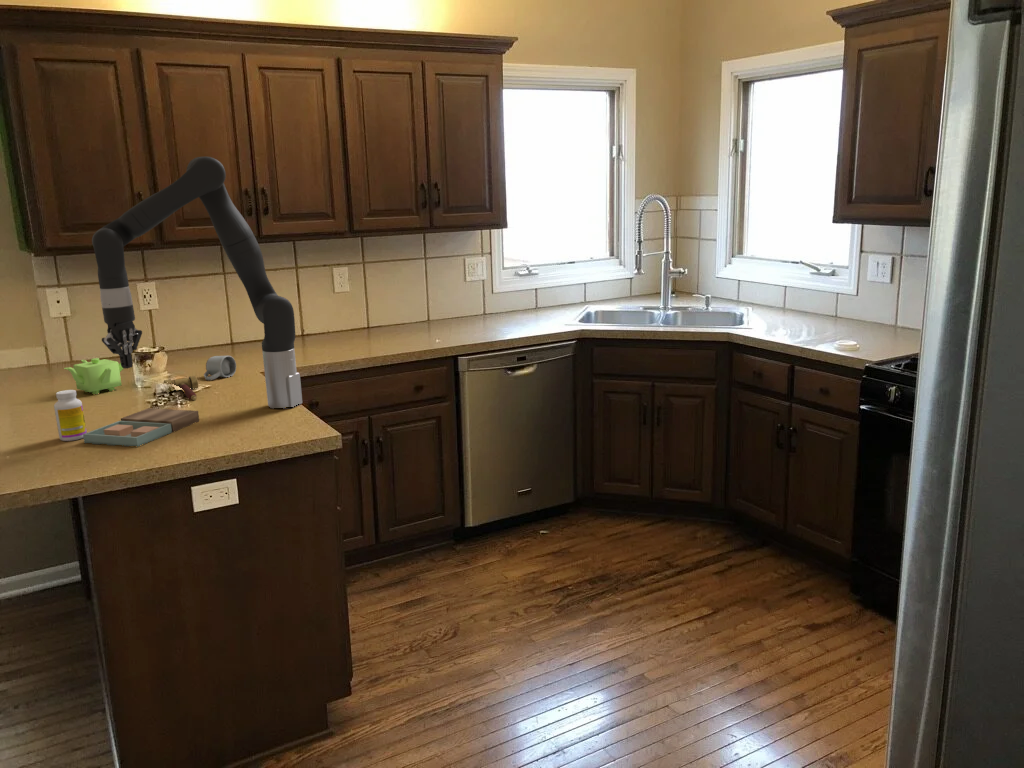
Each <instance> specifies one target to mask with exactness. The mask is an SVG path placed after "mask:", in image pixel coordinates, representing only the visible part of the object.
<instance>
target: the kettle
mask: <svg viewBox="0 0 1024 768" xmlns="http://www.w3.org/2000/svg"><path fill="white" fill-rule="evenodd" d="M80 361H81V362H82V363H76V364H73V365H72V366H73V367H64V368H63V369H64V370H67V371H69V372H70V374H71V376H72V378H73V380H74V381H75V383H76V389H77V390H80V391H84V392H89V393H91V394H97V395H99V394H98V393H100V392H101V391H102V390H107V391H108V390H109V391H108V392H113V391H112V390H115V391H116V387H121V386H122V380H121V379H122V378H121V372H122V371H123V370H124V369H125V368H122V366H121V362H119V361H116V360H111V359H100V358H99V357H95V358H90V361H87V360H86V359H81V360H80ZM100 394H101V393H100Z"/></svg>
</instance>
